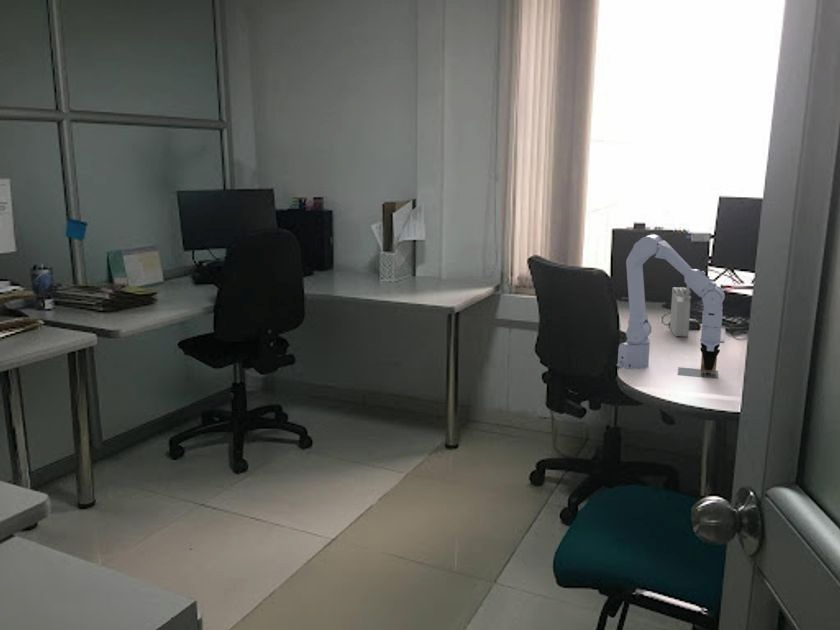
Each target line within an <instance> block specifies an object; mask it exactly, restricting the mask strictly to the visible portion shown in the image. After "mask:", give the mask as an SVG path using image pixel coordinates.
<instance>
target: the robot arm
mask: <svg viewBox="0 0 840 630" xmlns="http://www.w3.org/2000/svg"><path fill="white" fill-rule="evenodd" d="M654 255H655V256H654ZM652 256H654V258H656V259H661V260H666V261H667V262H668V263H669V264H670V265H671V266H672V267H673V268H674V269H675V270H677V271H678V272H679V274H681V275H683V277H684V283H685V285H686V286H687V285H688V286H689V289H690V290H692V291H693V292H694V293H695V294H696V295H697V296H698V297H699V298H701V301H702V303H703V304H702V305H703V310H702V317H701V333H700V338H699V342H700V347H699V348H700V352H701V356H702V355H703V359H704V367H705V370H712V369H713V366H714V363H715V359H716V357H717V358H718V355H719V353H720V352H721V350H720V349H719V347H720V346H721V345H720V344H725V339H721V338H722V325H723V324H722V323H723V308H724V307H723V302H724V300H725V295H726V294H725V292H724V290H723V288H722V287H721V286H718V284H717V283H716V282H713V281H711V280H710V279H709V278H708V276H706V272H705V271H704V270H702V271H701V270H700V269H698V268H692V267H691V266H690V265H689V263H687V262H686V260H684V258H683V257H682V256H680V254H679V253H678V252H677V251H676V250H675V249H674V248H673V247H672V245H670V243H668V242H667V241H666V240H664V239H662V237H661V236H660V235H658V234H655V233H650V234H648V235H646V236H644V237H641V238H640V239H639V240H637V241H636V242H635V243H634V244H633V247H632V249H631V250H630V252H629V254H628V256H627V258H626V261H625V262H626V263H625V265H626V277H627V278H626V280H627V290H628V292H627V293H628V294H627V295H628V307H629V308H628V309H629V316H628V321H627V322H628V323H627V325H628V326H627V329H626V330H625V331H626V332H625V336H626V341H625V342H621V343H620V344H618V345H619V346H618V348H617V349H618V350H617V351H618V353H617V364H616V366H617V367H618V368H620V369H622V368H624V369H625V370H629V369H630V370H631V369H646V368H648V367H649V365H650V364H649V363H650V361H649V360H650V345H651V343H650V342H651V341H650V338H649V336H650V334H651V333H652V325H651V323H650V322H649V318H648V313H647V311H646V299H645V298H646V297H645V295H646V294H645V283H644V281H645V280H644V270H643V267H644V266H643V265H644V264H645V263H646V262H647V261H648V260H649V258H651V257H652Z"/></svg>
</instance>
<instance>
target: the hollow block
mask: <svg viewBox="0 0 840 630" xmlns="http://www.w3.org/2000/svg"><path fill="white" fill-rule="evenodd" d="M717 360H718V356H717V357H716V359H715V363H714V366H713V369H712V370H705V367H704V359H703V355H702V354H701V358H700V361H701V362H700V369H701V372H707V373H716V370H717V362H718V361H717Z"/></svg>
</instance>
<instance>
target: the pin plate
mask: <svg viewBox="0 0 840 630" xmlns="http://www.w3.org/2000/svg"><path fill="white" fill-rule="evenodd" d="M677 376H684V377H693V378H694V377H695V378H705V379H716V380H717V379H719V370H717V369H716V373H710V374H706V372H701V368H692V367H691V368H690V367H681V366H680V367H679V366H678V368H677Z"/></svg>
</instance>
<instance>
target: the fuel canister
mask: <svg viewBox="0 0 840 630" xmlns="http://www.w3.org/2000/svg"><path fill="white" fill-rule="evenodd" d="M691 299H692V296H691V289H690V287H689V286H688V285H687V284H686V287H676V286H675V287H674V286H673V287H672V290H671V304H670V305H671V306H670V307H671V308H670V322H669V323H670V324H669V330H670V331H671V332H672V334H673V336H674V337H676V336H678V337H677V338H681V337H683V338H689V332H690V331H689V329H690V318H691V317H690V316H691V314H690V313H691ZM679 336H680V337H679Z"/></svg>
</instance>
